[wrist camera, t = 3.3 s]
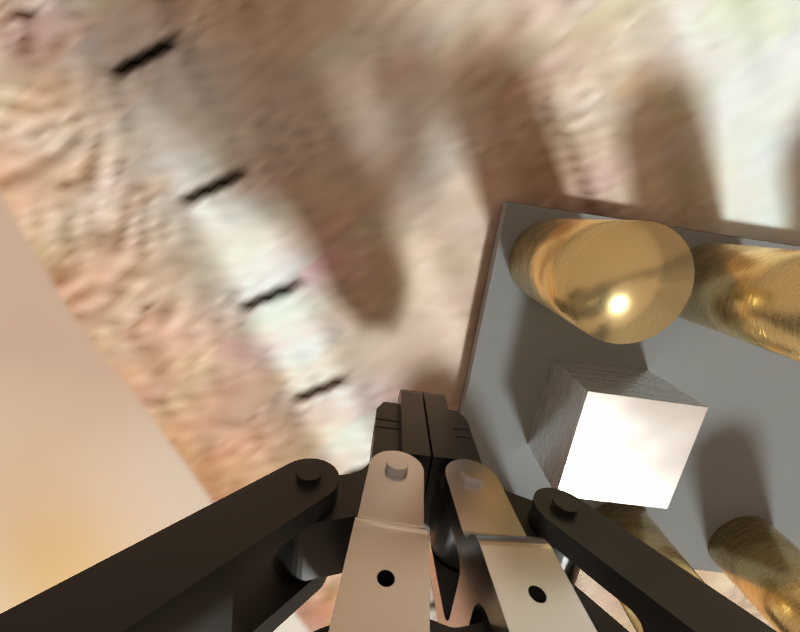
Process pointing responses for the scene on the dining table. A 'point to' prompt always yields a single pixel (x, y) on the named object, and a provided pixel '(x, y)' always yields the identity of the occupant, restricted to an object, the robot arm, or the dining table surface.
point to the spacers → (653, 312)
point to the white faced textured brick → (613, 432)
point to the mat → (665, 357)
